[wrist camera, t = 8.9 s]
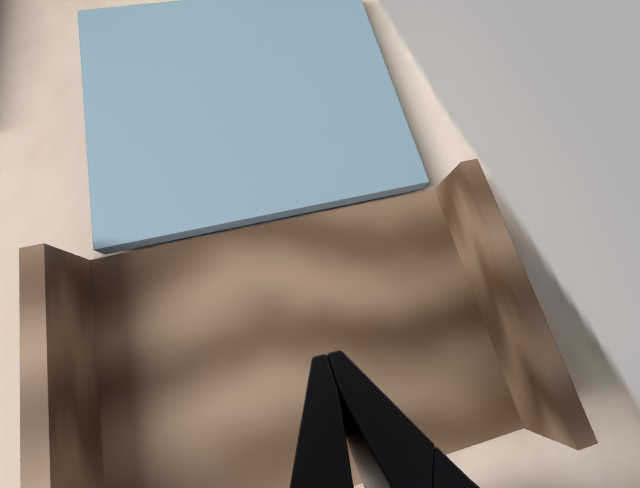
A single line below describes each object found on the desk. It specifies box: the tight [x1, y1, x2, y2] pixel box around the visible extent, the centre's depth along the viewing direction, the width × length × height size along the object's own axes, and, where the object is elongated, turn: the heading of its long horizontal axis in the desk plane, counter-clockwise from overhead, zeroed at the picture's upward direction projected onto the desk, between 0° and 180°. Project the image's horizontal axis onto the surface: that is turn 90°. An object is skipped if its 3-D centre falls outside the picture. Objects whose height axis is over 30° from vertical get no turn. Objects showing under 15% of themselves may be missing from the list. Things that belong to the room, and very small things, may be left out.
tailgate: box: [78, 0, 429, 254], centre depth 24 cm, size 1×23×20 cm
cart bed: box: [19, 159, 598, 488], centre depth 19 cm, size 17×27×5 cm, turn 104°
